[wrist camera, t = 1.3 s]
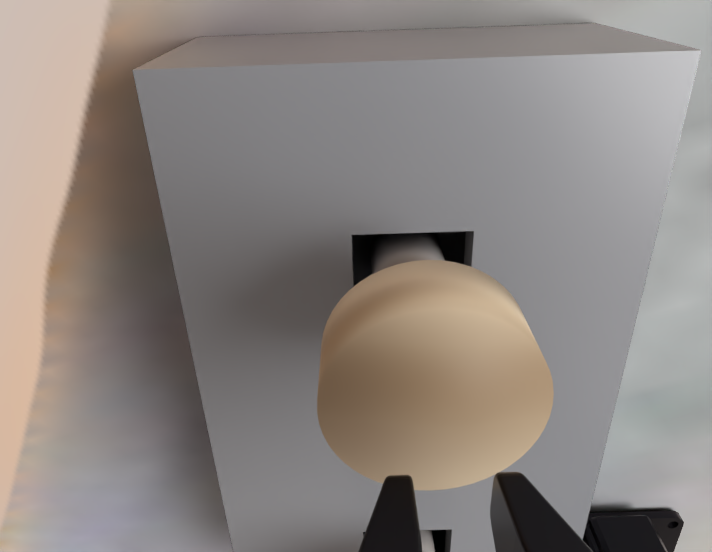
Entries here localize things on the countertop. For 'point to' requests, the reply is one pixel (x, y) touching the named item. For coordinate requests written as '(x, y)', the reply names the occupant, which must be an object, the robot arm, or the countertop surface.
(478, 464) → the near cap
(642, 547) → the robot arm
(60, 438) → the countertop surface
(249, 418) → the housing
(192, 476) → the countertop surface
